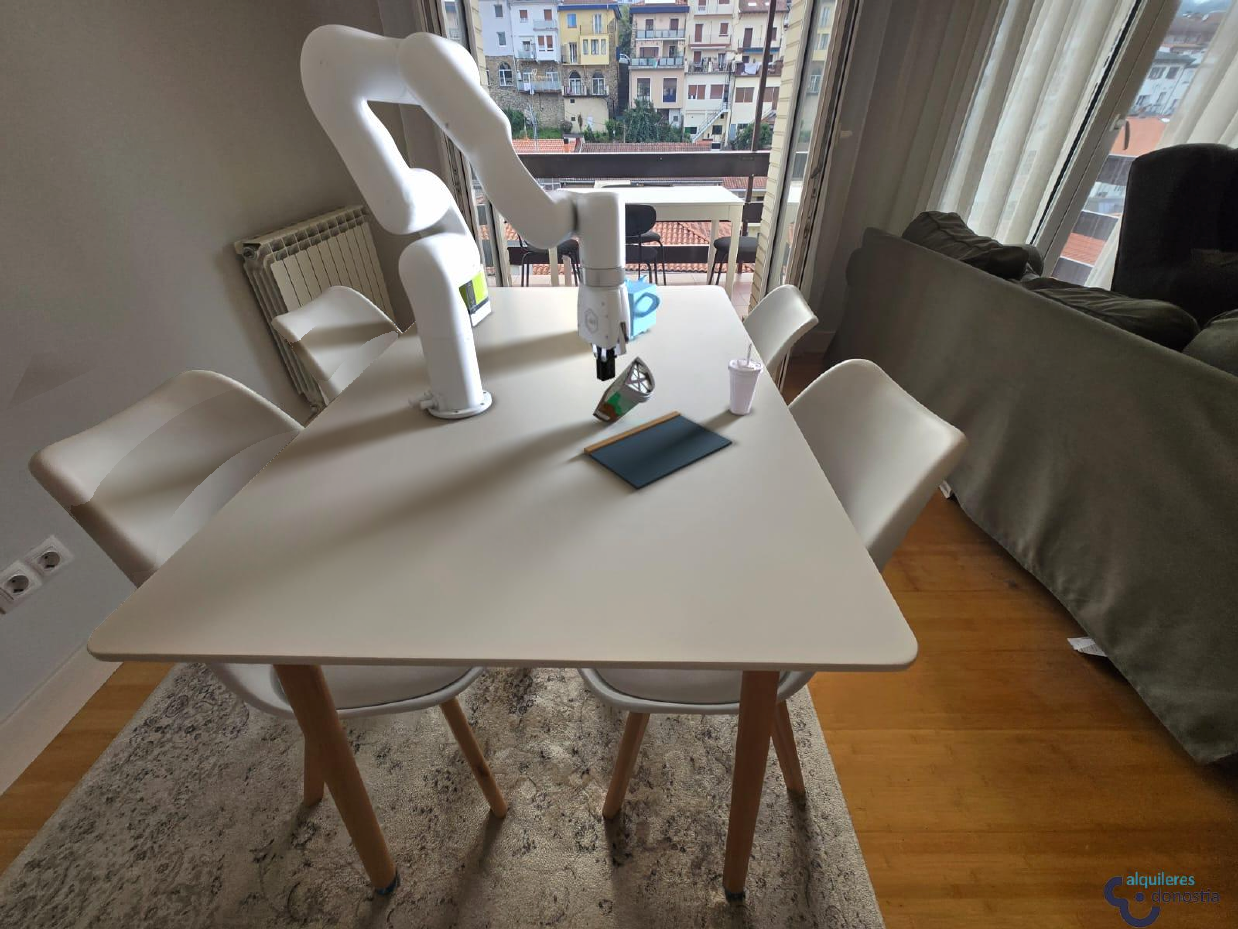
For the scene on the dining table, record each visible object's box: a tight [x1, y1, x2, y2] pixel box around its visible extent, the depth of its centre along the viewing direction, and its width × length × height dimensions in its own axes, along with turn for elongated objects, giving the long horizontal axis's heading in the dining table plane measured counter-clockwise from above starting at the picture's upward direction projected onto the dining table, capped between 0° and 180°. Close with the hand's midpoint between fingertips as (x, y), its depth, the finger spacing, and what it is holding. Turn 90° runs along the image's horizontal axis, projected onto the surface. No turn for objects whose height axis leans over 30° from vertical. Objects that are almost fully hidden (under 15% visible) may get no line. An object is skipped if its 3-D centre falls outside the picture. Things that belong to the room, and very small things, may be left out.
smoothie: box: [727, 342, 764, 416], centre depth 97 cm, size 6×6×14 cm
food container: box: [592, 355, 656, 424], centre depth 95 cm, size 12×6×10 cm
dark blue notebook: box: [583, 410, 733, 490], centre depth 89 cm, size 22×14×1 cm, turn 129°
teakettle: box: [625, 274, 662, 341], centre depth 137 cm, size 19×19×15 cm
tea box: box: [458, 263, 492, 328], centre depth 149 cm, size 15×10×15 cm, turn 172°
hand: (606, 378), depth 94 cm, fingers closed
